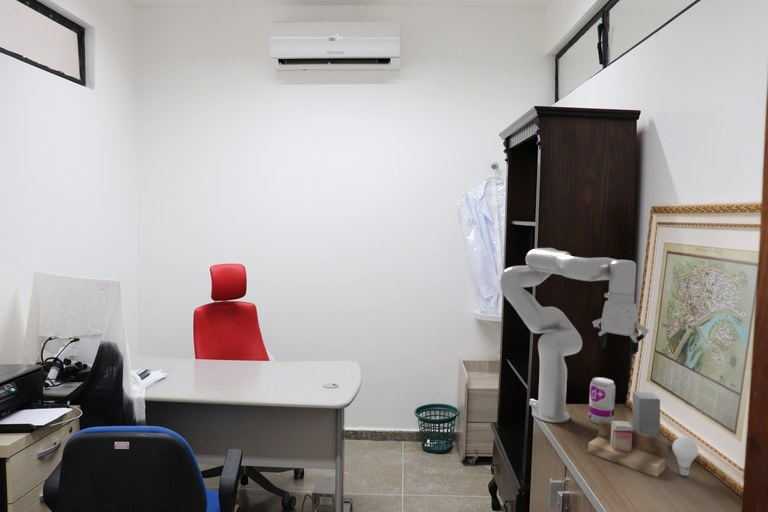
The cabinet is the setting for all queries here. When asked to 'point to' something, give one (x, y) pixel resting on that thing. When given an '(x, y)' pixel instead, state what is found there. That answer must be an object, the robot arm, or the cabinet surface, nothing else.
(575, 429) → the cabinet surface
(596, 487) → the cabinet surface
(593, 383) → the supplement can
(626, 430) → the small box
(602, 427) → the board
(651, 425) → the skincare box
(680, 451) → the lightbulb
